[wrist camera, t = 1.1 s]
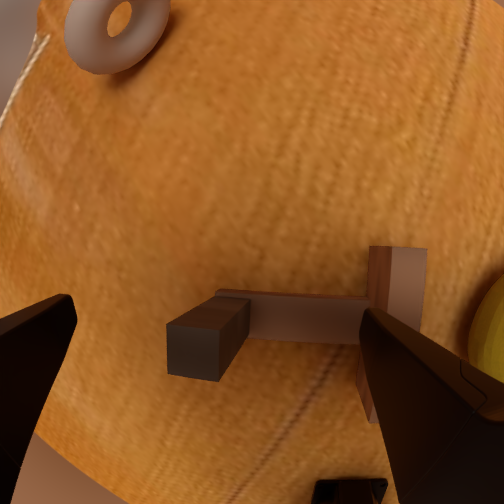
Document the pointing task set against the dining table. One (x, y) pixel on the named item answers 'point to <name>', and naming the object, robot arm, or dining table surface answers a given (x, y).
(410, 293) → the scraper
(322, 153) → the dining table surface
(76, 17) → the donut
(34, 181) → the dining table surface
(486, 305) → the lemon
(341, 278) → the dining table surface
